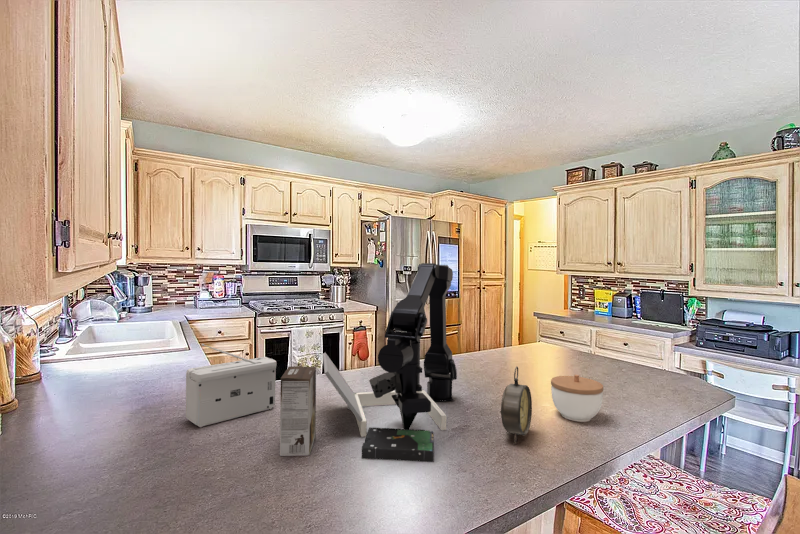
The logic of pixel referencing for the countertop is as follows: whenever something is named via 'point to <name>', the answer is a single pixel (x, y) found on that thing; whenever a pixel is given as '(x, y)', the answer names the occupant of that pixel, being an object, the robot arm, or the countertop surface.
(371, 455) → the disk drive
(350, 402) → the beige bent panel frame
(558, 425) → the countertop surface
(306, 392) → the coffee box
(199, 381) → the stereo radio cassette player
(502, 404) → the alarm clock
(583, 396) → the lidded bowl
